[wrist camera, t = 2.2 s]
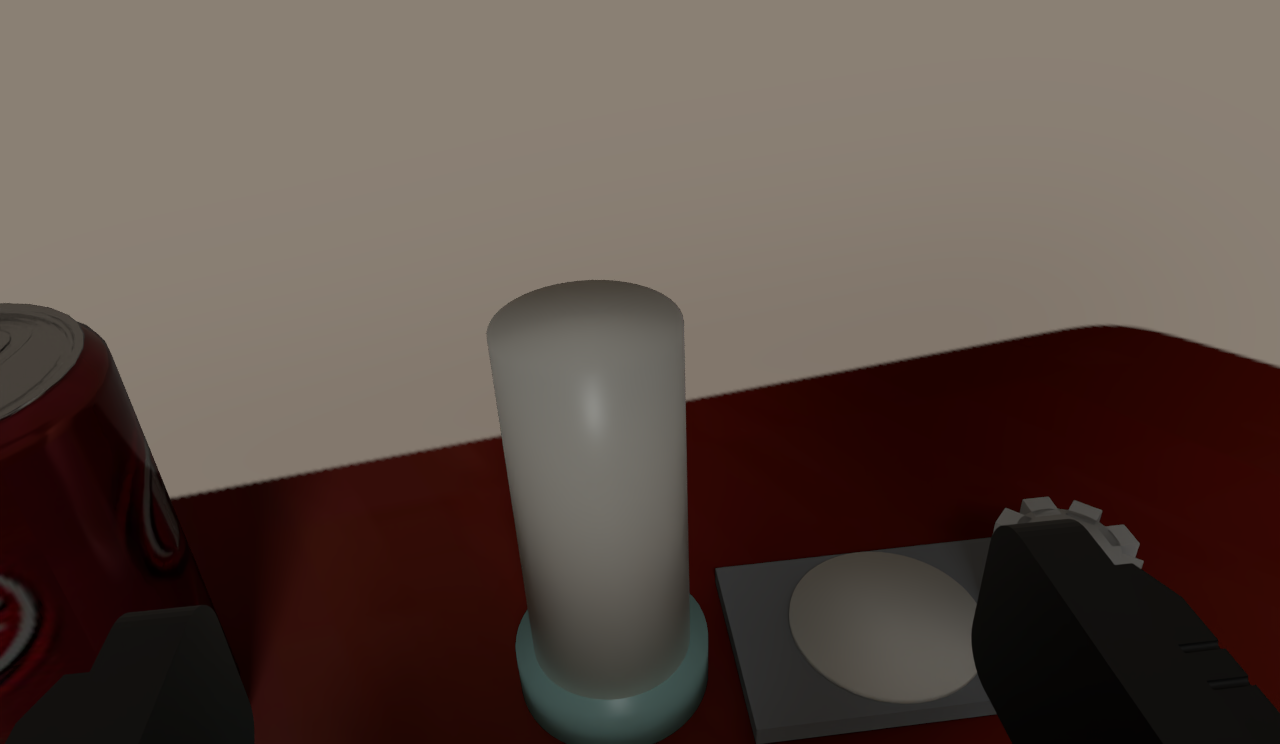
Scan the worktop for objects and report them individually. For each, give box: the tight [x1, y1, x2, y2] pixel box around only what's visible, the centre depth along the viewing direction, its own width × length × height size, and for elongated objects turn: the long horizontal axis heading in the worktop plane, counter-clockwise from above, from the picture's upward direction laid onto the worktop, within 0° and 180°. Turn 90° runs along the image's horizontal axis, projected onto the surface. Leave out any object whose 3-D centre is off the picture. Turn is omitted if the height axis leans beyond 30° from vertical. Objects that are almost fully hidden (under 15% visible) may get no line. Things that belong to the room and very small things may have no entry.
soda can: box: [0, 303, 240, 744], centre depth 22 cm, size 7×7×12 cm
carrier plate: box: [715, 497, 1144, 744], centre depth 27 cm, size 12×6×3 cm, turn 96°
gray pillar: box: [487, 280, 708, 744], centre depth 24 cm, size 5×5×12 cm
